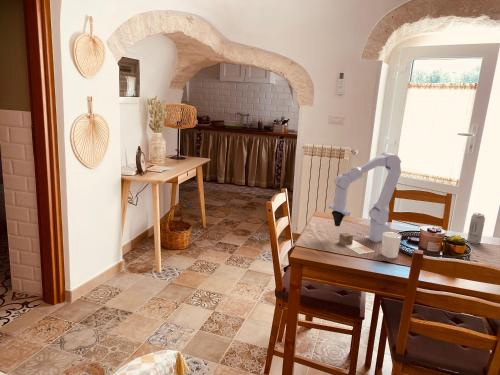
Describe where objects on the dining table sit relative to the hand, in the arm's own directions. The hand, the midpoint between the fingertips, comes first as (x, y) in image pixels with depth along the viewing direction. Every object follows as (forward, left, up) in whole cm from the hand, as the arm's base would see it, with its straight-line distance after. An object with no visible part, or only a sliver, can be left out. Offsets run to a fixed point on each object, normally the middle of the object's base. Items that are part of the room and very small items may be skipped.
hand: (337, 225), depth 190 cm
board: (-2, +13, -7) cm, 14 cm away
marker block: (0, +8, -6) cm, 10 cm away
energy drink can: (-68, +26, -7) cm, 73 cm away
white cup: (-11, +26, -7) cm, 29 cm away
